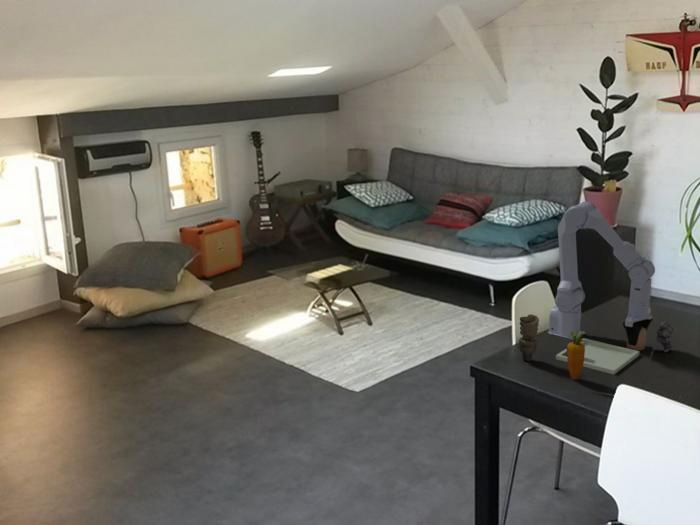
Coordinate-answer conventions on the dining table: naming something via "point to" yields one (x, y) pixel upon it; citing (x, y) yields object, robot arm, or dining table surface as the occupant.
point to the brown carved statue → (528, 336)
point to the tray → (603, 356)
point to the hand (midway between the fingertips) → (636, 342)
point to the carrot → (575, 356)
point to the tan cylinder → (639, 341)
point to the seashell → (665, 335)
